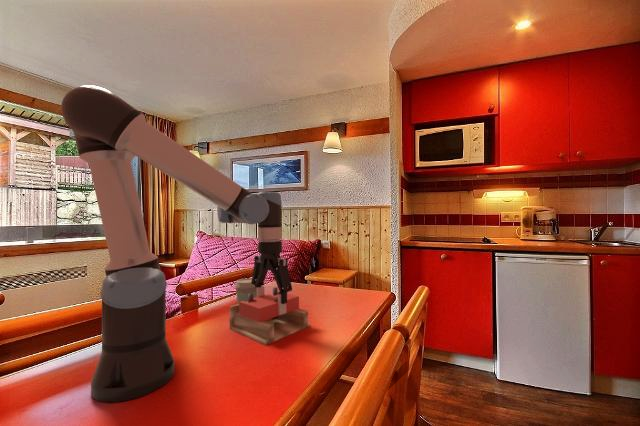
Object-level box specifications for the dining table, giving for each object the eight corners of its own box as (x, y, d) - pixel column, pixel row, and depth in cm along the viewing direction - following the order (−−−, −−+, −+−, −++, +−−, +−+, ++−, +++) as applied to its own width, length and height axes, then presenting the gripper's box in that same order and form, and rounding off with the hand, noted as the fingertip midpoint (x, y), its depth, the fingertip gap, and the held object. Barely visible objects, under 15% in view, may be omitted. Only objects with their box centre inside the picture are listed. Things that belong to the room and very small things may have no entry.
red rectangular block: (259, 322, 82) (259, 305, 82) (239, 314, 89) (239, 298, 89) (299, 308, 94) (298, 293, 94) (278, 302, 101) (278, 288, 101)
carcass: (265, 345, 79) (265, 304, 79) (229, 328, 91) (229, 293, 91) (310, 325, 93) (310, 291, 93) (274, 313, 104) (273, 283, 104)
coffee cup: (261, 309, 109) (261, 278, 109) (254, 317, 100) (254, 283, 101) (240, 309, 110) (240, 277, 110) (231, 317, 101) (230, 282, 101)
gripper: (303, 241, 87) (304, 314, 87) (258, 238, 102) (258, 300, 102) (285, 243, 82) (286, 321, 82) (239, 239, 97) (240, 306, 96)
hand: (271, 310), depth 92 cm, fingers closed on red rectangular block, 10 cm apart
